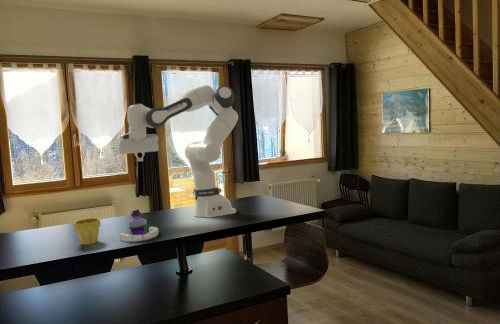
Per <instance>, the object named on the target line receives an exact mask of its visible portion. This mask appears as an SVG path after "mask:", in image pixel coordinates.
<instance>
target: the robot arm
mask: <svg viewBox="0 0 500 324" xmlns="http://www.w3.org/2000/svg"><path fill="white" fill-rule="evenodd" d="M234 100H235V93H234V91H233V89H232V88H231V87H230V86H227V85H220V86H219V87H218V88H217V89H216V90H214V89H213V88H212V87H211V86H210V85H208V84H207V85H206V84H205V85H201V86H198V87H195V88H192V89H191V90H188V91H187V92H185V93H183V94H181V96H180V97H179V98H178V100H176V101H175V102H172V103H171V104H169V105H165V106H164V107H153V108H150V107H147V106H145V105H144V104H142V103H136V104H132V105H129V107H128V108H127V115H126V116H127V124H128V132H127V133H125V134H121V135H120V141H119V146H118V152H119V154H120V155H125V154H127V155H128V154H129V155H130V154H134V156H135V157H136V159H137V162H144V156H145V153H152V152H158V151H159V150H160V148H159V146H160V145H159V141H160V140H159V136H158V135H157V134H156V133H152V134H151V133H150V134H147V128H151V129H157V128H162V127H163V126H164V125H165V124H166V123H167V122H168V120H170V119H171V118H173V117H176V116H177V115H180V114H182V113H186V112H187V113H188V112H189V113H190V112H194V111H196V110H199V109H201V108H204V107H205V106H208V107H209V109H210V110H211V111H212V112H213V114H215V115H216V117H215V118H214V120H213V121H212V122H211V124H210V125H209V126H208V127H207V129H206V130H205V132H206V134H205V136H204V138H203V139H202V140H201V141H194V142H191V143H189V144H188V145H186V147H185V148H184V155H185V158H187V160H188V162H189V165H190V168H191V170H192V174H193V175H192V176H193V183H194V189H193V190H194V191H193V195H194V199H195V205H194V214H193V216H194V217H198V218H209V219H210V218H215V217H222V216H227V215H232V214H236V213H237V210H236V208H234V207H232V203H231V201H230V200H229V199H228V198H227V197H225V196H224V195H222V194H221V192H222V189H221V188H219V187H217V186H216V177H215V176H216V175H215V171H214V170H213V169H212V167H211V165H210V163H213V162H217V161H218V160H219V159H220V156H221V153H222V152H221V151H222V150H221V147H222V145H223V144H224V141H226V139H227V137H228V136H229V134H230V133H231V132H232V131H233V130H234V127H235V126H236V124H237V122H238V121H239V114H238V112H237V111H236V110H235V109H233V105H234ZM139 153H140V154H141V155H142V156H141V157H139V156H138V154H139Z"/></svg>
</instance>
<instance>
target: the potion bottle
mask: <svg viewBox="0 0 500 324" xmlns="http://www.w3.org/2000/svg"><path fill="white" fill-rule="evenodd" d="M141 216H142V211H140V209H139V208H137V209H132V210H131V213H130V217H132V218H131V220H128V221H127V222H126V224H127V227H128V229H129V231H130V235H137V234H144V233H146V232H145V231H146V229H147V219H145V218H141Z"/></svg>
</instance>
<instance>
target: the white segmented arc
mask: <svg viewBox="0 0 500 324" xmlns="http://www.w3.org/2000/svg"><path fill="white" fill-rule="evenodd" d="M158 233H159V227H156V226H149V227H148V232H145V233H144V234H137V235H131V234H127V233H124V232H123V233H119V235H118V236H119V240H120V241H121V242H124V243H125V242H127V243H129V242H130V243H135V242H143V241H147V240H152V239H154V238H156V237H158V236H159V234H158ZM157 235H158V236H157Z"/></svg>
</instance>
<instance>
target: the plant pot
mask: <svg viewBox="0 0 500 324" xmlns="http://www.w3.org/2000/svg"><path fill="white" fill-rule="evenodd" d="M73 226H74V231H76V232H77V236H78V238H79V240H80V244H81V245H83V246H86V245H87V246H88V245H92V244H95V243H97V242H98V239H99V233H100V232H99V231H100V227H101V219H100V218H98V217H90V218H83V219H79V220H75V221H74V222H73Z"/></svg>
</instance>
